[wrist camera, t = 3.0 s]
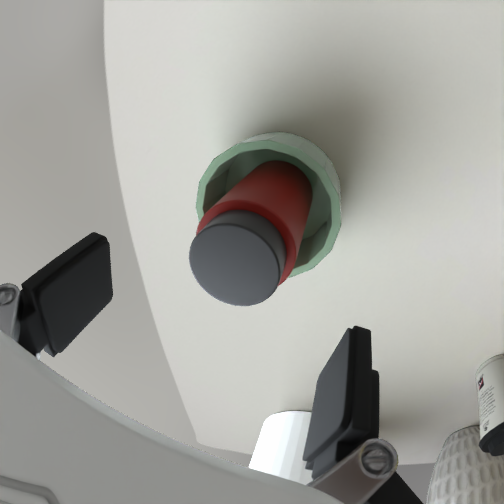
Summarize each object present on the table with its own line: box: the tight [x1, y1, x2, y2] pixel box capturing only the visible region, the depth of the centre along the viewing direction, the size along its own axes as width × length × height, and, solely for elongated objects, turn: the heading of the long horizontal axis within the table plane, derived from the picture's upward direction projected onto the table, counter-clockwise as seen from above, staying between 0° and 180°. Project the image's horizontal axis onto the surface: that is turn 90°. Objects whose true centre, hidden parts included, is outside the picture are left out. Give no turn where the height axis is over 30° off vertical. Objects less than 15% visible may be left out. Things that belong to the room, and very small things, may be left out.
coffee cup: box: [476, 355, 504, 456], centre depth 19 cm, size 7×7×10 cm
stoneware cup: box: [196, 132, 341, 278], centre depth 19 cm, size 9×9×4 cm
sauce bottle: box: [189, 160, 313, 306], centre depth 17 cm, size 5×5×10 cm
